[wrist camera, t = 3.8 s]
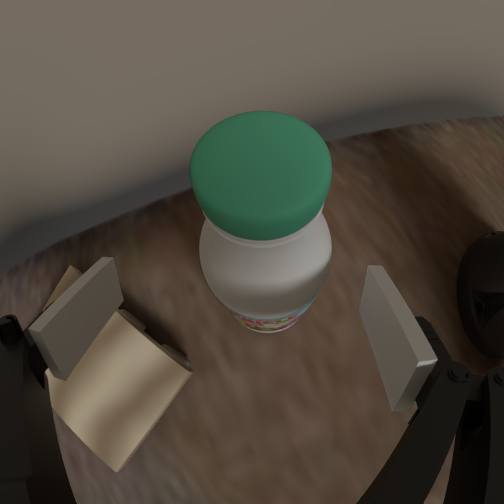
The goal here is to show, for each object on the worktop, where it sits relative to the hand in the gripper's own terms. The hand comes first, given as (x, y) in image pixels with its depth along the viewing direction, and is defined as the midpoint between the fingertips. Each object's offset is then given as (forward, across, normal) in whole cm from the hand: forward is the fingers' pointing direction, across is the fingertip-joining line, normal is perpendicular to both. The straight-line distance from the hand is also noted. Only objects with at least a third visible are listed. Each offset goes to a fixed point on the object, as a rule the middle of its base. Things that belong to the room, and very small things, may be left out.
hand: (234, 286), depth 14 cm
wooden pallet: (+5, -14, -14) cm, 21 cm away
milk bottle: (+11, +1, -8) cm, 14 cm away
